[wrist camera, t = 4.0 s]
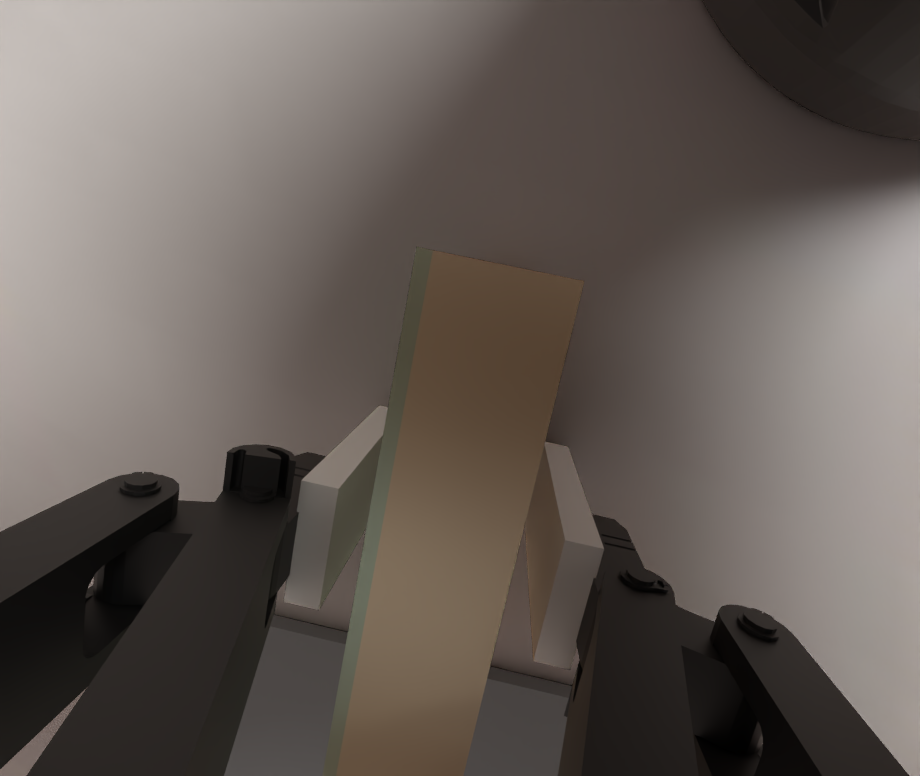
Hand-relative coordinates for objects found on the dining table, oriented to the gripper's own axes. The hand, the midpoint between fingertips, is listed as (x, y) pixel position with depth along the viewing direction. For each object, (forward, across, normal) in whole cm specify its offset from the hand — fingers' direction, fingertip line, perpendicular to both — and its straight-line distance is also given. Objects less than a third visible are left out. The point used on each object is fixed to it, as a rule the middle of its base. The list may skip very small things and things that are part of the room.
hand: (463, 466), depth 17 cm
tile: (0, 0, 0) cm, 0 cm away
